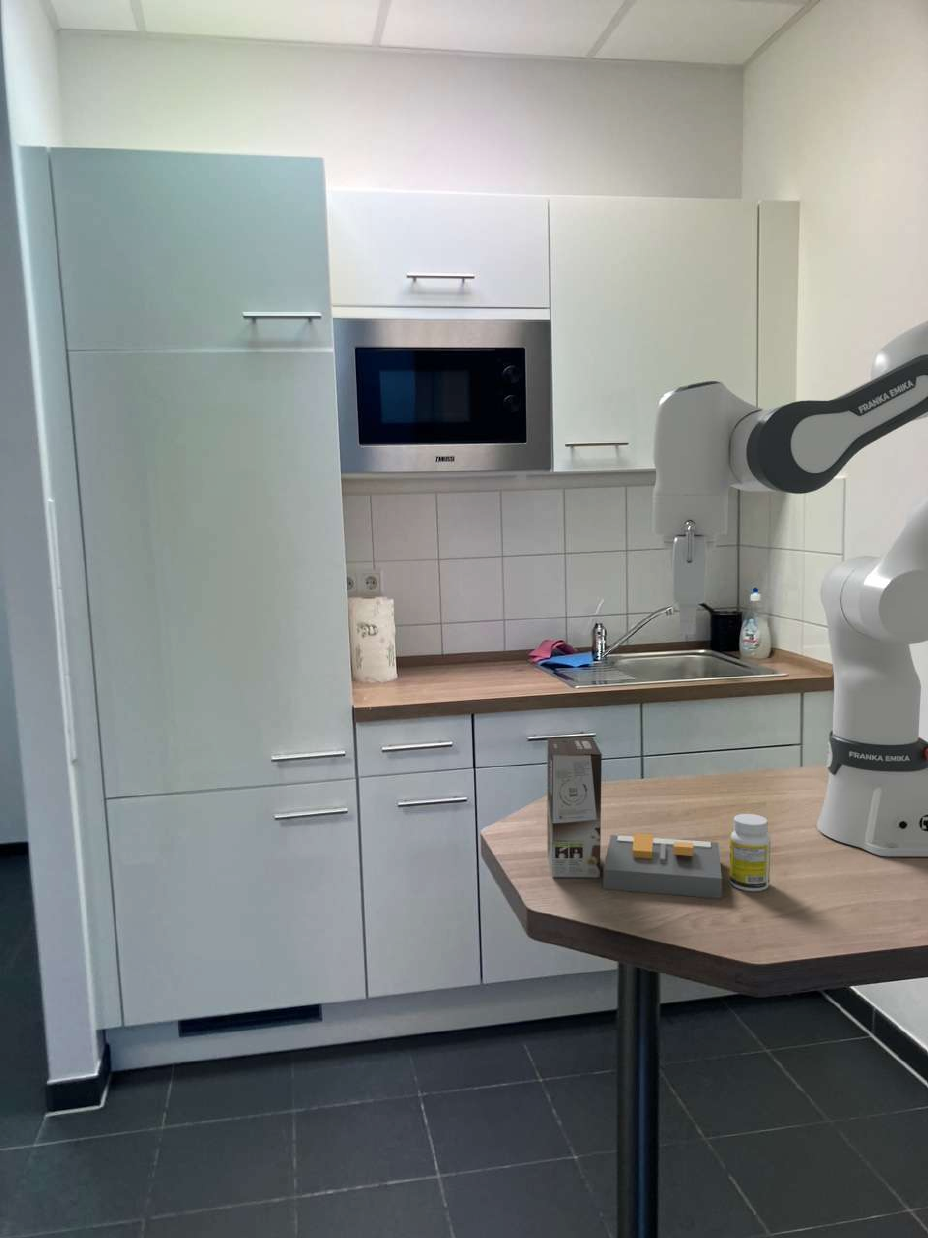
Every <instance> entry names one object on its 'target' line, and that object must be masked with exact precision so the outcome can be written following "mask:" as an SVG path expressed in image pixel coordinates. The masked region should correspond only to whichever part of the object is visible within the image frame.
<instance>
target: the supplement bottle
mask: <svg viewBox="0 0 928 1238" xmlns="http://www.w3.org/2000/svg"><path fill="white" fill-rule="evenodd" d="M768 821H769V820H768V819H767V818H766V817H764V816H762V815H758V814H752V813H740V814H737V815H735V816H734V817H733V825H732V827H733V831H732V832H731V833H730V839H729V841H730V845H729V849H730V850H729V852H730V853H729V882H730V884H731V886H733V887H734V888H737V889H739V890H742V891H747V892H761V891H764V890H766V889H768V888H769V886H770V882H771V881H770V877H771V876H770V875H771V874H770V873H771V872H770V870H771V869H770V868H771V837H770V835H769V834H768V830H769V829H768V827H769V826H768V825H769V824H768V823H769V822H768Z"/></svg>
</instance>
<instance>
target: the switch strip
mask: <svg viewBox="0 0 928 1238" xmlns="http://www.w3.org/2000/svg"><path fill="white" fill-rule="evenodd" d="M608 841H609V842H608V847H607V852H606V856H605V861H604V865H603V875H602V876H603V878H602V879H603V883H602V884H603V888H602V889H603V890H604V889H605V890H612V891H613V890H614V891H627V892H628V891H629V892H637V893H638V892H639V893H649V894H650V893H651V894H661V895H662V894H663V895H674V896H684V897H685V896H686V897H696V898H697V897H699V898H708V899H709V898H710V899H722V898H723V896H722V891H723V890H722V889H723V887H722V886H723V877H722V867H721V866H722V865H721V858H720V857H721V856H720V848H719V842H715V841H714V842H713V841H712V842H711V841H705V840H704V841H701V840H690V839H687V840H685V839H673V838H662V837H661V838H659V837H653V851H652V859H650V858H636V857H633V841H634V835H633V836H630V835H616V834H614V835H613V834H611V835H610V838H609V840H608ZM674 842H687V843H693V856H687V855H674V854H673V848H674Z"/></svg>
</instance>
